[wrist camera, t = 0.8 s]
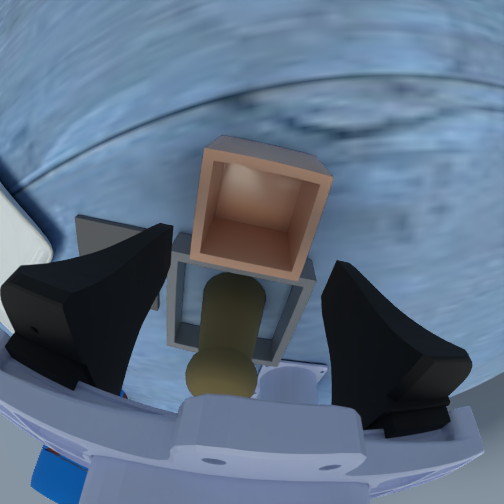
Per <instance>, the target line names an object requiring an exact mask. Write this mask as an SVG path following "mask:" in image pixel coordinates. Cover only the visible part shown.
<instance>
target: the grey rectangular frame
mask: <svg viewBox="0 0 504 504" xmlns="http://www.w3.org/2000/svg"><path fill="white" fill-rule="evenodd" d="M191 241H192V235H189V234H184V233H179V234H178V235H177V237H176V239H175V240H174V242H173V244H172V253H171V266H170V269H169V271H168V274H167V346H171V347H175V348H179V349H183V350H187V351H191V352H196V353H197V352H198V347H199V335H200V326H195V325H191V324H187V323H182V322H181V319H182V301H183V287H184V274H185V263H188V264H193V265H197V266H202V267H207V268H212V269H216V270H221V271H226V272H231V273H235V274H240V275H245V276H250V277H255V278H260V279H265V280H270V281H275V282H280V283H286V284H291V285H293V287H292V290H291V293H290V295H289V298H288V301H287V303H286V306H285V308H284V311H283V314H282V316H281V319H280V321H279V324H278V326H277V329H276V331H275V334H274V336H273V339H272V340H268V339H262V338H257V340H256V344H255V348H254V352H253V357H252V362H253V363H254V364H260V365H266V366H273V367H278V365H279V363H280V361H281V358H282V356H283V354H284V352H285V350H286V348H287V346H288V344H289V342H290V340H291V337H292V335H293V333H294V331H295V329H296V327H297V324H298V322H299V320H300V318H301V316H302V313H303V311H304V309H305V306H306V304H307V302H308V300H309V297H310V295H311V293H312V290H313V288H314V285H315V283H316V277H315V272H314V268H313V264H312V260H308V259H306V261H305V264H304V266H303V269H302V272H301V275H300V277H299V280H298V281H294V280H289V279H284V278H279V277H274V276H269V275H264V274H259V273H254V272H249V271H244V270H239V269H234V268H229V267H225V266H220V265H215V264H210V263H206V262H201V261H196V260H192V259H190V251H191Z"/></svg>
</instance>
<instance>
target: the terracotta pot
mask: <svg viewBox="0 0 504 504" xmlns="http://www.w3.org/2000/svg"><path fill="white" fill-rule="evenodd" d="M333 178H334V177H333V176H332V175H331V173H330V172H329V171H328V170H327V169H326V167H325V166H324V165H323V164H322V163H321V161H320V160H319V159H318V158H317V157H316V156H314V155H310V154H306V153H302V152H298V151H295V150H291V149H287V148H282V147H278V146H274V145H270V144H265V143H260V142H256V141H251V140H246V139H241V138H236V137H230V136H225V135H222V136H220V137H219V138H218V139H216V140H215V141H213V142H212V143H211V144H209V145H208V146H207V147H205V148H204V154H203V160H202V166H201V173H200V180H199V186H198V193H197V201H196V208H195V216H194V224H193V233H192V241H191V251H190V259H192V260H196V261H201V262H206V263H210V264H215V265H220V266H225V267H229V268H234V269H239V270H244V271H249V272H254V273H259V274H264V275H269V276H274V277H279V278H284V279H289V280H294V281H298V280H299V277H300V275H301V272H302V269H303V266H304V264H305V261H306V258H307V255H308V253H309V250H310V247H311V244H312V241H313V239H314V236H315V233H316V230H317V227H318V224H319V221H320V218H321V215H322V212H323V209H324V206H325V203H326V200H327V197H328V194H329V191H330V188H331V185H332V181H333Z"/></svg>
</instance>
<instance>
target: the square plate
mask: <svg viewBox="0 0 504 504" xmlns="http://www.w3.org/2000/svg"><path fill="white" fill-rule="evenodd" d="M53 254H54V253H53V250H52V246H51V244H50V242H49V240H48V239H47V237H46V236H45V235H44V234H43V232H42V231H41V230H40V228H39V227H38V226H37V225H36V224H35V223H34V221H33V220H32V219H31V218H30V217H29V216H28V214H27V213H26V212H25V211H24V210H23V209H22V208H21V207H20V205H19V204H18V203H17V202H16V201H15V200H14V198H13V197H12V196H11V195H10V194H9V192H8V191H7V190H6V189H5V187H4V186H3V185H2V183H1V182H0V288H1V285H2V284H3V283H4V282H5V281H6V280H7V279H8V278H9V277H10V276H11V275H12V274H13V273H14V272H15V271H16V270H17V269H18V268H19V267H20V266H21V265H32V264H44V263H51V260H52V258H53ZM0 321H1V323H2V324H3V325H4V326H6V327H7V328H8V329H9V330H10V331H11V332H12V333H13V334H14V332H15V331H14V329H13V327H12V325H11V323H10V321H9V318H8V316H7V314H6V312H5V310H4V307H3V305H2V302H1V297H0Z"/></svg>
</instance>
